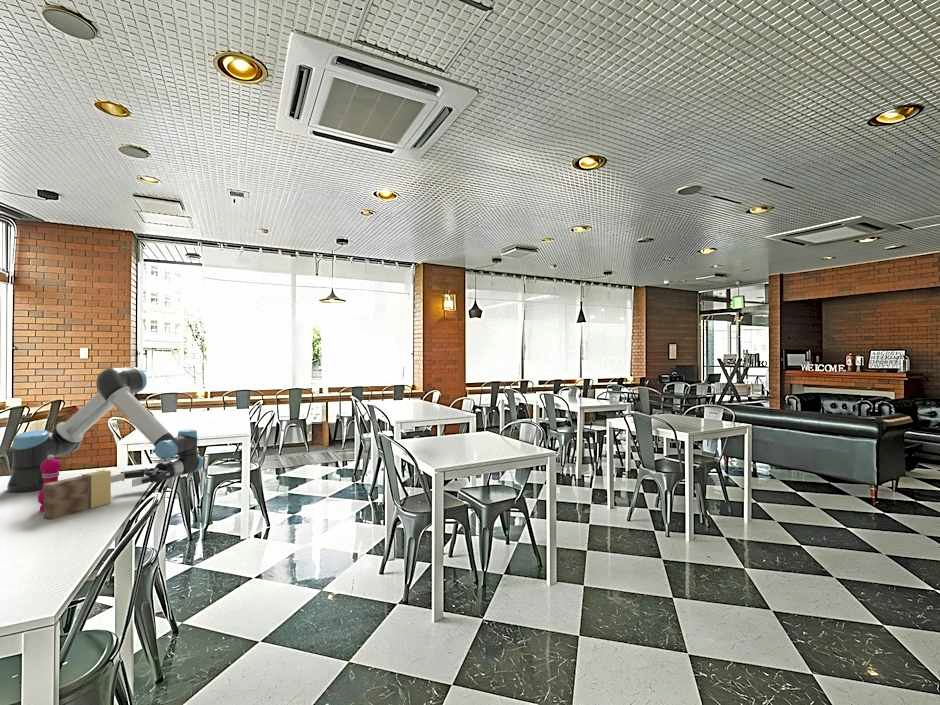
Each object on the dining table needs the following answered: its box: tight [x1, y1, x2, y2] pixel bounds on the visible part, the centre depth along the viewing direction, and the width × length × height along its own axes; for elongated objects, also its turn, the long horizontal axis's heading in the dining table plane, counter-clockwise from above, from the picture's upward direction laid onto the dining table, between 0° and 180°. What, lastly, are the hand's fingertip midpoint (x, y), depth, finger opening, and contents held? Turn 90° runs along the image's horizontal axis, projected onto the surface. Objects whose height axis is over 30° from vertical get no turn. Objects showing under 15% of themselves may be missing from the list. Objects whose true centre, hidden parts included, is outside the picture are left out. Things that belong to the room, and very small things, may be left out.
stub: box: [80, 469, 112, 510], centre depth 193 cm, size 8×4×12 cm, turn 160°
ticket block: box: [43, 475, 89, 521], centre depth 183 cm, size 12×4×12 cm, turn 160°
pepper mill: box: [37, 455, 62, 513], centre depth 188 cm, size 7×7×20 cm
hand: (120, 481), depth 201 cm, fingers open, 13 cm apart
